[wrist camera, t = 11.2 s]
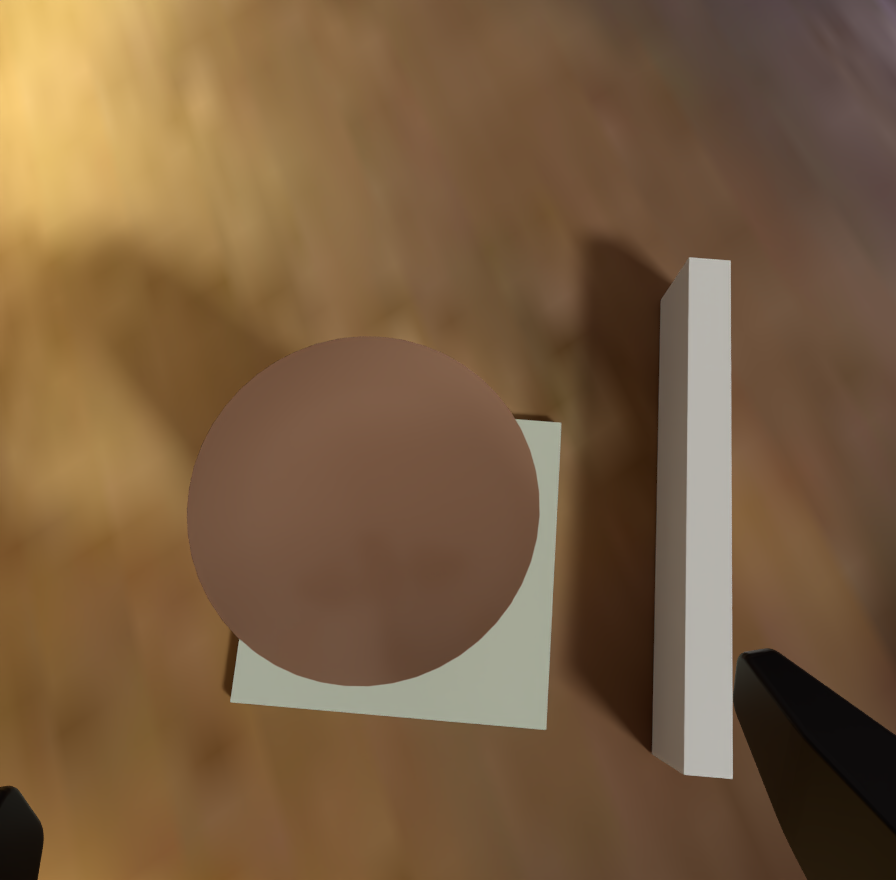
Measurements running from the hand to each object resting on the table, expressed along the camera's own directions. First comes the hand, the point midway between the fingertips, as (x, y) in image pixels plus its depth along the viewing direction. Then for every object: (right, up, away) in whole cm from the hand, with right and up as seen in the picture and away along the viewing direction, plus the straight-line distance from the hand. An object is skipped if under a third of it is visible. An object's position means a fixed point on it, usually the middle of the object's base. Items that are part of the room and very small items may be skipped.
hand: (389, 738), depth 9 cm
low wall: (+8, +1, +14) cm, 16 cm away
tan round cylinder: (-1, 0, +13) cm, 13 cm away
